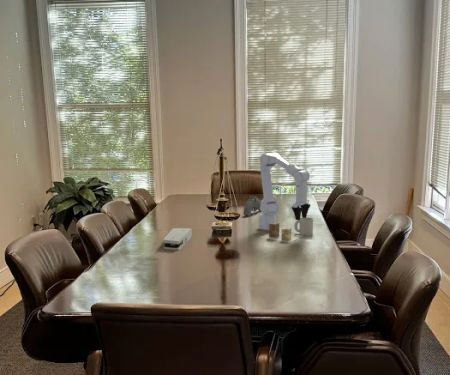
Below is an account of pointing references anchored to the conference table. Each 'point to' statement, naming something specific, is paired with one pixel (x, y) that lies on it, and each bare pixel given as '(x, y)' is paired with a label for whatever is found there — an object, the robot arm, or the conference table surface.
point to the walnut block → (273, 230)
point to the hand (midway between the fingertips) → (301, 218)
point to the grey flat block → (177, 238)
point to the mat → (293, 237)
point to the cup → (304, 226)
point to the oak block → (286, 234)
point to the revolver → (252, 205)
